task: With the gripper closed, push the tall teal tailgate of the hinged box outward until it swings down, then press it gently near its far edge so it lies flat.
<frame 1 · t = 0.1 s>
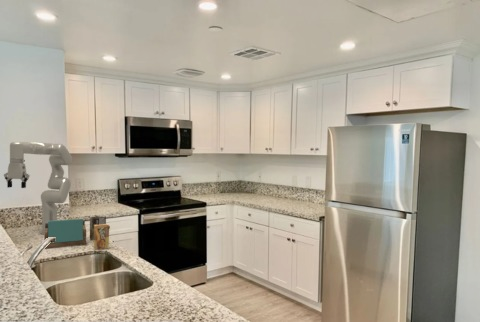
hand: (16, 187, 219), 37 cm above the countertop, tool pointing down, fingers open, 9 cm apart
candy box: (101, 248, 216), on the countertop
coffee box: (97, 240, 235), on the countertop
tailgate: (65, 230, 218), point 10 cm above the countertop, hinge at 0.0°
hinged box: (65, 243, 225), on the countertop
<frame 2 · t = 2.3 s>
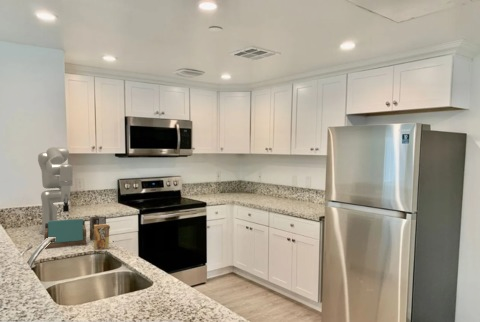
hand: (65, 210, 223), 22 cm above the countertop, tool pointing down, fingers closed
nothing on the countertop moved.
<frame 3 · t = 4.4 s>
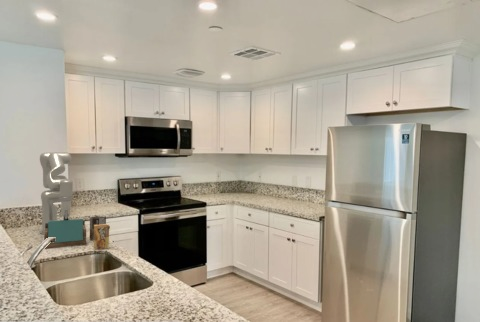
hand: (65, 226, 221), 12 cm above the countertop, tool pointing down, fingers closed
tailgate: (65, 230, 218), point 10 cm above the countertop, hinge at 0.6°, touching gripper
everything else where it was.
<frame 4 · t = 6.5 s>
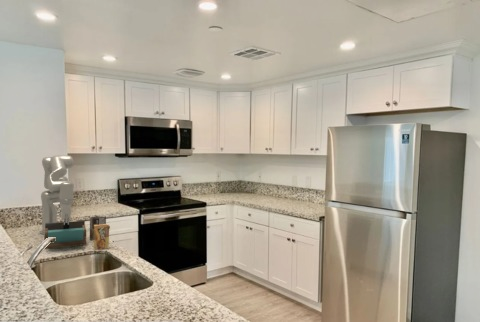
hand: (66, 230, 212), 12 cm above the countertop, tool pointing down, fingers closed
tailgate: (66, 235, 213), point 8 cm above the countertop, hinge at 47.6°, touching gripper
everything else where it was.
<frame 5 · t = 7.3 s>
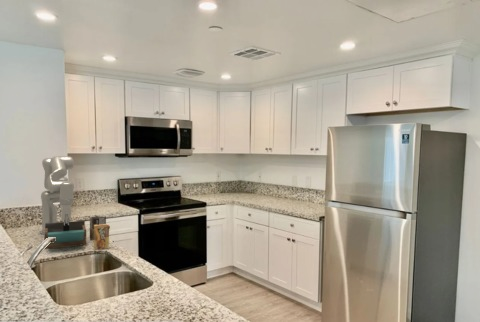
hand: (66, 231, 210), 12 cm above the countertop, tool pointing down, fingers closed
tailgate: (66, 236, 213), point 8 cm above the countertop, hinge at 53.4°, touching gripper
everything else where it was.
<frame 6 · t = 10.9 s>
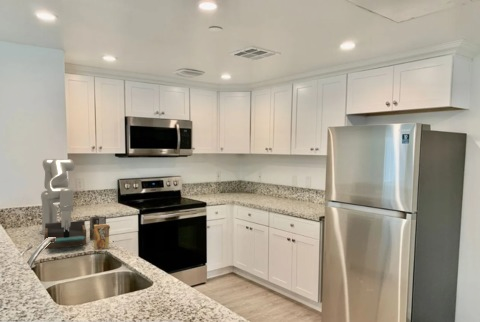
hand: (66, 237, 210), 8 cm above the countertop, tool pointing down, fingers closed
tailgate: (66, 239, 212), point 6 cm above the countertop, hinge at 70.4°, touching gripper
everything else where it was.
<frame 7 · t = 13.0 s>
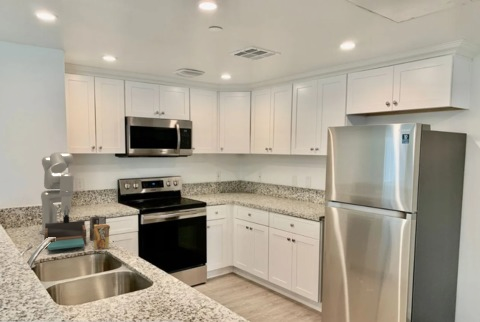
hand: (66, 222, 211), 17 cm above the countertop, tool pointing down, fingers closed
tailgate: (66, 243, 212), point 4 cm above the countertop, hinge at 90.1°
everything else where it was.
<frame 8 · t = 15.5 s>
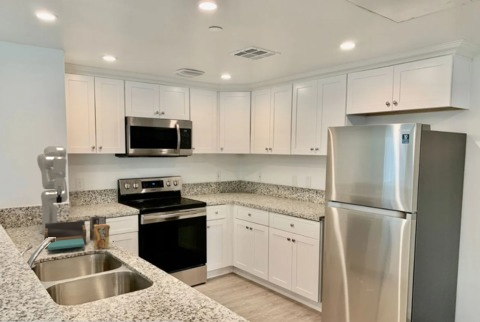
hand: (59, 202, 225), 27 cm above the countertop, tool pointing down, fingers closed
nothing on the countertop moved.
at the end: tailgate at +90° (first picture: +0°) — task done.
